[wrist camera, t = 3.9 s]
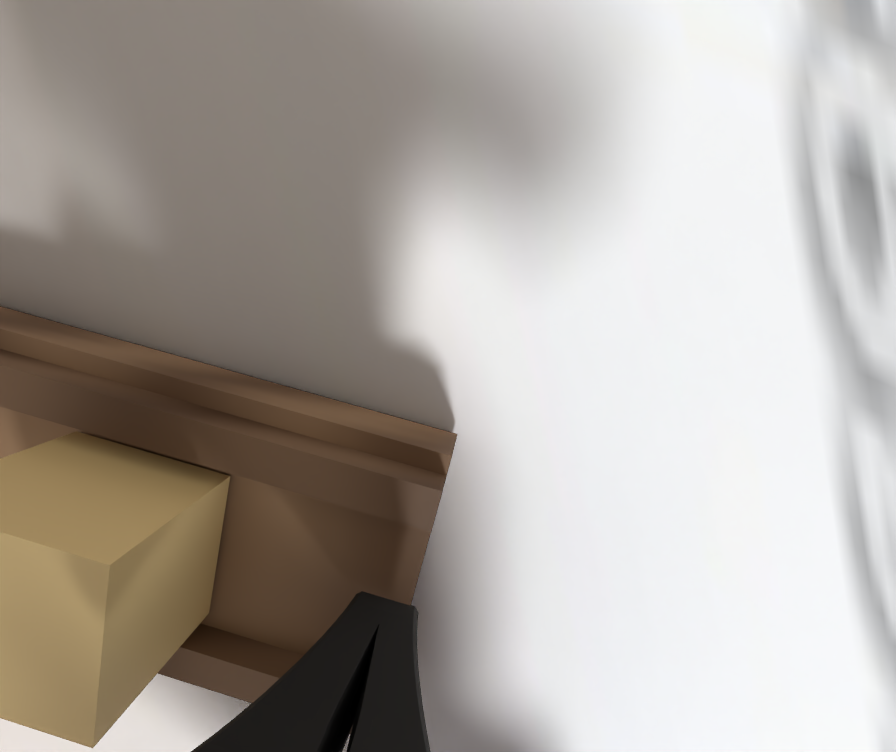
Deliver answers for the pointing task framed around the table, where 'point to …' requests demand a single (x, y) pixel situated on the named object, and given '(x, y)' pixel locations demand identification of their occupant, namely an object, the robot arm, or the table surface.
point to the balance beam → (244, 485)
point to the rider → (98, 577)
